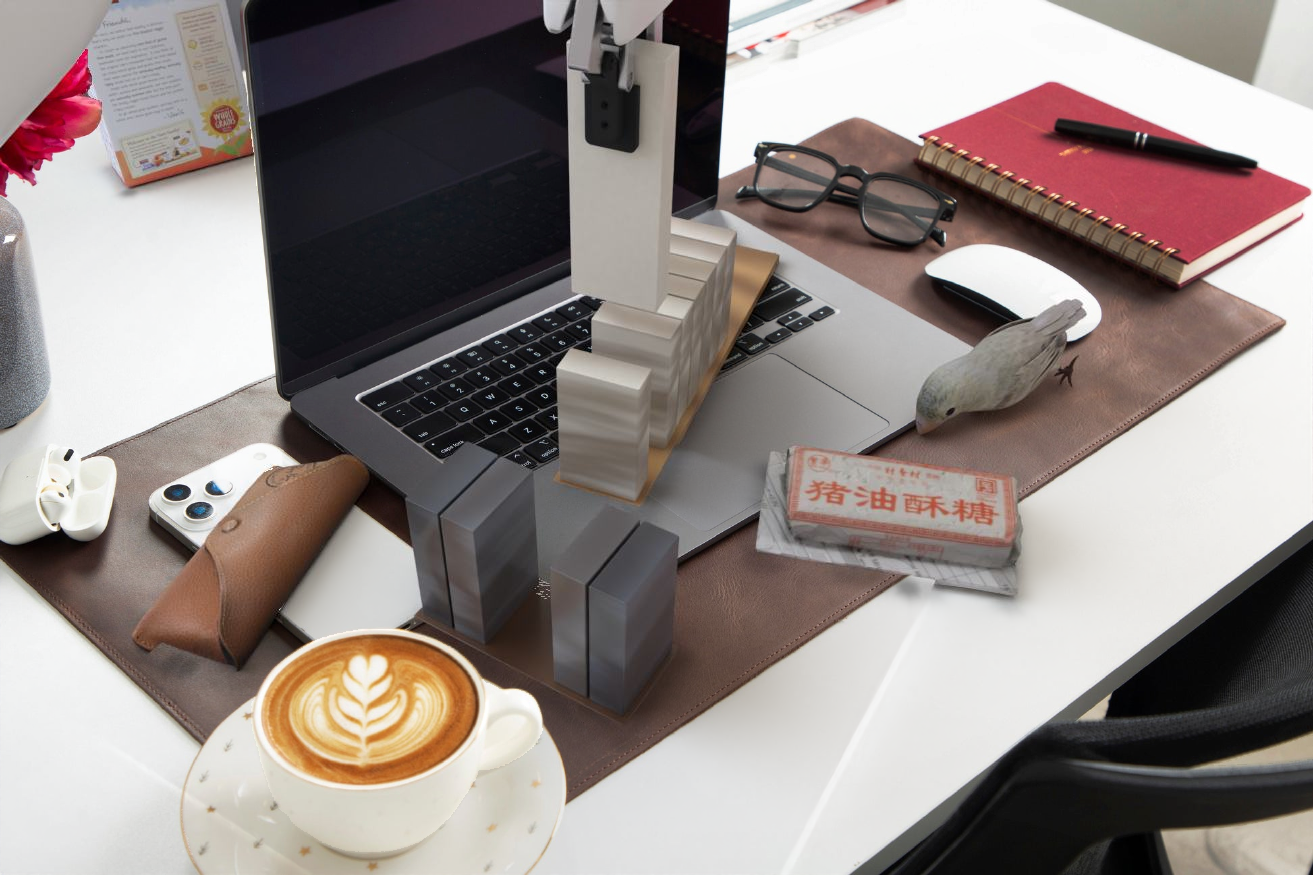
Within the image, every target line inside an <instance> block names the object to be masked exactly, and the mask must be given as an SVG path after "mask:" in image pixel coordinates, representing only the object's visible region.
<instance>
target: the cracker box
mask: <svg viewBox="0 0 1313 875" xmlns="http://www.w3.org/2000/svg"><path fill="white" fill-rule="evenodd" d="M86 49H88V68H89V70H90V73H91V75H92V85H91V86H90V89H89V90H88V92H87V95H88V97H89V96H90V97H91V98H94V99H96V100H99V101H100V102H102V120H101V123H100V125H99V126H98V129H99V132H100V135H101V138H102V142H103V144H104V147H105V150H106V152H107V156H108V159H109V162H110V165H111V167H112V168H113V170H114V171H115V172H116V173H117V175H118V177H119V178H120V179H121V180H122V181H123V183H124V184H125V186H126V188H132V187H135V186H138V185H142V184H146V183H149V182H152V181H157V180H161V179H164V178H168V177H171V176H175V175H179V174H183V173H186V172H189V171H193V170H197V169H200V168H201V169H202V168H204V167H208V166H212V165H216V164H219V163H222V162H226V161H230V160H235V159H236V158H241V157H245V156H248V155H252V154H254V153H253V147H252V139H251V129H250V122H249V110H248V106H247V95H248V92H246V91H247V87H246V83H245V78H244V74H243V70H242V65H241V61H240V57H239V53H238V48H237V43H236V40H235V34H234V31H233V27H232V22H231V16H230V13H229V9H228V5H227V1H226V0H113V1H112V3H111V6H110V8H109V10H108V12H107V14H106V16H105V18H104V19H103V21H102V23H101V25H100V27H99V28H98V30H97V32H96V33H95V35H94V37H93V39H92V40H91V42H90V44H89V45H88V47H87V48H86Z"/></svg>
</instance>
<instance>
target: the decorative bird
mask: <svg viewBox="0 0 1313 875" xmlns="http://www.w3.org/2000/svg"><path fill="white" fill-rule="evenodd" d="M1083 306H1084V304H1083V301H1081V300H1080V299H1077V298H1074V299H1064V300H1062V301H1060V302H1059V303H1058V304H1053V305H1051V306H1050V307H1048V308H1047V309H1044V311H1042V312H1040V313H1039V314H1038V315H1037V316H1033V317H1028V318H1027V317H1025V318H1021V319H1017V320H1014V321H1011V322H1008V323H1006V324H1003V325H1001V326H1000V327H998V328H995V330H993V331H991V332H990V333H988V334H987V335H986V336H985V337H984V338H983V339H982V340H980V342H979V343H977V344H976V345H975V346H974V347H973V348H972V349H971V350H970V351H969V352H968V353H967V354H964V355H962V356H959V357H957V358H954V359H952V360H950V361H948V362H946V363H944V364H942V365H940V366H938V367H937V368H936V369H934V370H933V371H932V372H931V374H929V376H927V378H926V379H925V380H924V382H923V384H922V386H921V388H920V389H919V392H918V395H917V398H916V404H915V426H916V430H917V434H918V435H919V436H922V435H925V434H927V433H929V432H931V431H932V430H934V429H936V428H937V427H939V426H940V425H943V423H944V422H946V421H948V420H950V419H952V418H954V417H956V416H957V415H959V414H960V413H962V412H963V413H970V412H982V411H983V412H984V411H985V412H986V411H998V410H1002V409H1007V408H1010V407H1012V406H1014V405H1015V404H1017V403H1019V402H1020V401H1022V400H1023V399H1024V398H1026V397H1027V396H1028V395H1030V394H1031V393H1032V392H1033V391H1034V390H1035V389H1037V387H1039V386H1040V384H1041V383H1042V382H1044V380H1045V379H1046V378H1047V376H1048V375H1049V374H1050V372H1052V371H1057V372H1056V373H1054V374H1053V378H1054V377H1055V378H1056V377H1058V376H1061V375H1062V376H1061V378H1060V379H1059V386H1061V385H1062V383H1063V382H1064V381H1065V379H1066V378H1067V382H1068V385H1069V387H1070V388H1072V389H1073V388H1074V387H1073V384H1072V376H1073V373H1074V364H1075V362H1076V361H1077V359H1078V358H1079V357H1080V354H1078V355H1076V356H1074V357H1073V358H1072V360H1071V361H1070V363H1069V365H1066V366H1064V368H1062V367H1061V365H1060V363H1059V361H1060V360H1061V356H1062V355H1063V354H1064V351H1065V348H1066V346H1067V343H1068V333H1067V330H1070V329H1071V328H1073V327H1074V326H1076V325H1077V324H1078V322H1079V321H1081V320H1083V319H1084V318H1085V317H1086V316H1087V315H1088V312H1087V311H1086V310H1085V308H1083Z"/></svg>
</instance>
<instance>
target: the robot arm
mask: <svg viewBox="0 0 1313 875" xmlns="http://www.w3.org/2000/svg"><path fill="white" fill-rule="evenodd" d="M112 1H113V0H0V148H2V146H3V145H4V144H5V143H6V142H7V141H8V140H9V138H10V137H12V135H13V134H14V133H15V132H16V130H18V128H20V126H21V125H22V124H23V123H24V121H26V119H27V118H28V117H29V116H31V114H32V113H33V112H34V111H35V110H36V108H37V107H39V105H40V104H42V102H43V101H44V100H45V98H47V97H48V95H50V93H51V92H52V91H53V90H54V89H55V88H56V86H58V84H59V83H60V82H61V81H62V79H63V78H64V77H65V76H66V75H67V73H69V71H70V70H71V69H72V68H73V67H74V65H75V64H76V63H77V60H78V59H79V57H80V56H81V55H82V53H83V52H84V51H85V49H86V48H87V47H88V45H89V44H90V42H91V40H92V39H93V37H94V35H95V33H96V32H97V30H98V28H99V27H100V25H101V23H102V21H103V19H104V18H105V16H106V14H107V12H108V10H109V8H110V6H111V3H112ZM672 2H673V0H543V3H542V4H543V21H544V26H545V27H546V29H547V31H548V32H549V33H551V34H560V33H562V32H563V31H565V30H566V29H567V28H569V27H570V26H571V25H572V26H571V33H570V39H569V40H570V46H569V53H568V62H567V61H566V64H567V63H568V68H569V69H572V70H577V71H581V80H582V82H583V83H584V101H585V140H586V142H587V143H588V144H590V145H594V146H599V147H603V148H608V149H613V150H617V151H622V152H627V153H633V152H635V150H636V149H637V148H638V146H639V120H640V86H639V85H634V74H635V43H636V38H637V39H643V40H648V41H653V42H659V43H663V20H664V19H665V17H664V16H663V15H664V14H665V9H666V8H667V7H668V6H669V5H670V4H671V3H672ZM604 23H607V24H610V25H605V24H604ZM600 44H605V45H611V46H616V47H619V58H617V57H616V55H615V54H614V52H610V51H605V50H601V46H600Z"/></svg>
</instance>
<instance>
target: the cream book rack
mask: <svg viewBox="0 0 1313 875" xmlns="http://www.w3.org/2000/svg"><path fill="white" fill-rule="evenodd" d="M737 240H738V230H733V229H730V228H726V227H725V228H724V227H721V226H716V225H711V224H706V223H703V222H699V221H694V220H689V219H685V218H680V217H675V216H672V215H671V235H670V256H669V277H668V295H667V297H666V298H665V300H664V302H663V303H662V305H661V306H660V308H659V309H658V311H657V312H656V313H654V312H650V311H646V310H642V309H638V308H634V307H630V306H626V305H622V304H618V303H614V302H610V301H606V300H603V303H602V304H601V305H600V307H599V308H598V310H597V311H596V312H595V314H594V315H593V317H592V318H591V352H588V351H586V350H585V351H584V350H581V349H580V350H579V349H578V348H573V347H570V348H569V350H568V351H567V352H566V353H565V355H564V356H563V358H562V359H561V361H560V362H559V363H558V365H557V366H556V395H557V396H556V399H557V426H558V457H559V460H558V461H559V469H558V471H557V472H556V474H555V475H554V477H553V479H552V482H554V483H557V482H558V484H561V485H565V486H567V487H571V488H573V489H574V488H575V489H578V488H579V489H578V490H581V491H585V492H588V493H591V494H594V495H598V496H601V497H605V498H608V499H612V500H616V501H620V502H621V503H622V502H623V503H626V504H629V505H633V506H636V507H639V508H641V507H642V506H643V504H644V502H645V500H646V498H647V496H648V495H649V492H650V491H651V489H652V487H653V486H654V483H656V480H657V479H658V477H659V475H660V473H661V471H662V470H663V467H664V465H665V464H666V462H667V460H668V458H669V456H670V455H671V453H672V451H673V449H674V447H675V446H680V444H681V442H682V441H683V439H684V437H685V435H686V433H687V431H688V430H689V428H690V426H691V424H692V422H693V421H694V419H695V417H696V415H697V413H698V411H699V410H700V408H701V406H702V404H703V403H704V400H705V399H706V397H707V395H708V393H709V392H710V389H711V387H712V386H713V384H714V382H715V381H716V379H717V377H718V375H719V373H720V371H721V370H722V367H723V366H724V364H725V362H726V361H727V358H728V357H729V355H730V353H731V351H732V349H733V347H734V346H735V343H736V342H737V340H738V338H739V336H740V334H741V333H742V331H743V329H744V327H745V325H746V324H747V322H748V321H749V318H750V316H751V315H752V313H753V311H754V309H755V307H756V306H757V303H758V302H759V301H760V298H761V296H762V294H763V292H764V291H765V289H766V287H767V285H768V283H769V282H770V279H771V278H772V276H773V274H774V273H775V271H776V269H777V267H778V265H779V263H780V254H779V253H775V252H770V251H766V250H761V249H757V248H753V247H749V246H744V245H740V244H737Z"/></svg>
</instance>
